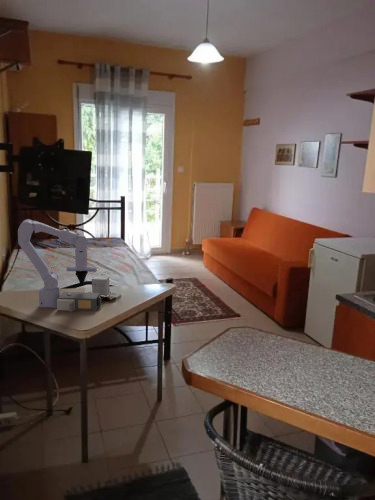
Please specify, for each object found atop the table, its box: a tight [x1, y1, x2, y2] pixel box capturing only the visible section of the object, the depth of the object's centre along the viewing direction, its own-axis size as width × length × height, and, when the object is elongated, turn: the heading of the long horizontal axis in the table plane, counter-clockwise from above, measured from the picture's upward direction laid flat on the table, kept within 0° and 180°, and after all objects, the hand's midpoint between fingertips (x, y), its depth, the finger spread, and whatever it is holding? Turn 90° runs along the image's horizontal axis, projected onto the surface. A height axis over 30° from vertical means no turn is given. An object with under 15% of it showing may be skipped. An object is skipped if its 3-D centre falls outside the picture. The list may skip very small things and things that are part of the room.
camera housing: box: [58, 291, 102, 312], centre depth 199 cm, size 19×9×7 cm, turn 90°
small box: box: [91, 275, 111, 296], centre depth 215 cm, size 8×6×10 cm
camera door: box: [56, 299, 76, 312], centre depth 192 cm, size 8×4×5 cm, turn 90°
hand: (82, 285), depth 203 cm, fingers closed
